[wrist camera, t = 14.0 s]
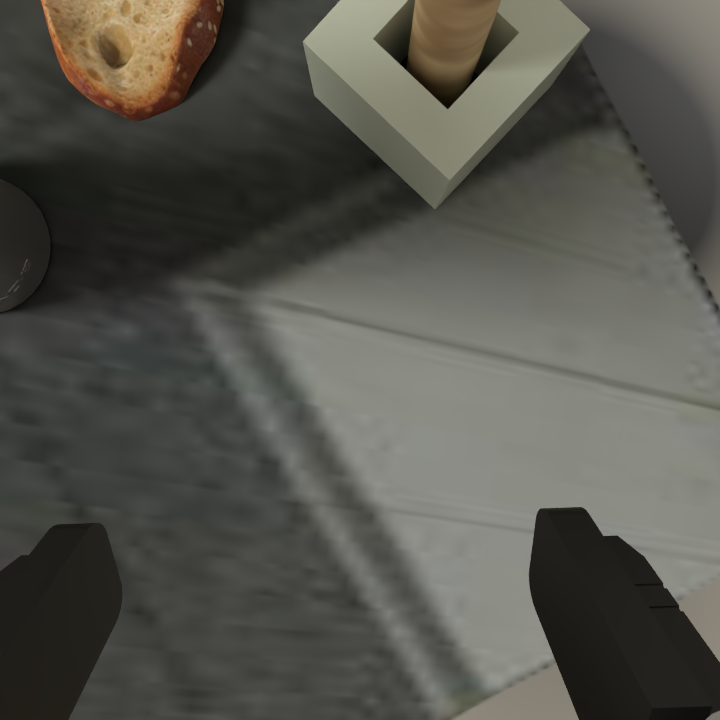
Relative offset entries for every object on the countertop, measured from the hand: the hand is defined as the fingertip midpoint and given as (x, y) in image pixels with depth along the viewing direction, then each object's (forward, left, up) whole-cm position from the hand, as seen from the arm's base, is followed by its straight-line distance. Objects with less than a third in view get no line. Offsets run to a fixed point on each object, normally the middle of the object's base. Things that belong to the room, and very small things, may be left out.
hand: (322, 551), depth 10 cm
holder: (-10, +19, -25) cm, 33 cm away
